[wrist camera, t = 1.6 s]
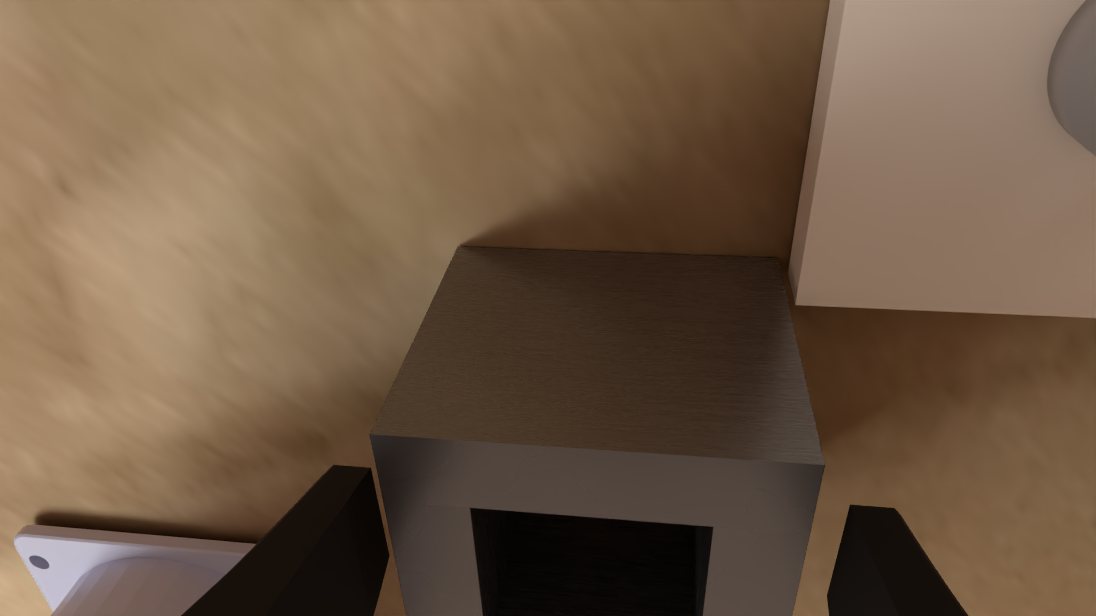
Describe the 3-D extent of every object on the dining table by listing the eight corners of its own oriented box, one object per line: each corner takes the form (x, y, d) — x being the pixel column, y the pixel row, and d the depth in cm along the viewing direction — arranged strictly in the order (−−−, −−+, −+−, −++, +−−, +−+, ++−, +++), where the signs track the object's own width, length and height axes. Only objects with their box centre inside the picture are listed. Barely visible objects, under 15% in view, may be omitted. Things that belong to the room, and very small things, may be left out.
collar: (743, 491, 17) (768, 725, 12) (481, 472, 17) (421, 688, 13) (778, 258, 14) (825, 465, 9) (457, 246, 14) (369, 434, 10)
